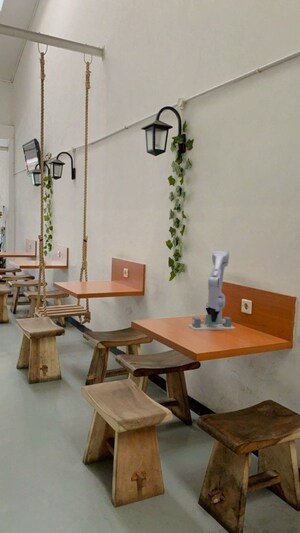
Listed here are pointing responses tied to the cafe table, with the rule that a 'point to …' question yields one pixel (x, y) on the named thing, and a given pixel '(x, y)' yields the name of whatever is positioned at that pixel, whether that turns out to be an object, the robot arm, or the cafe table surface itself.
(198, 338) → the cafe table surface
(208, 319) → the teal block
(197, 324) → the shaft stand
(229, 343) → the cafe table surface
